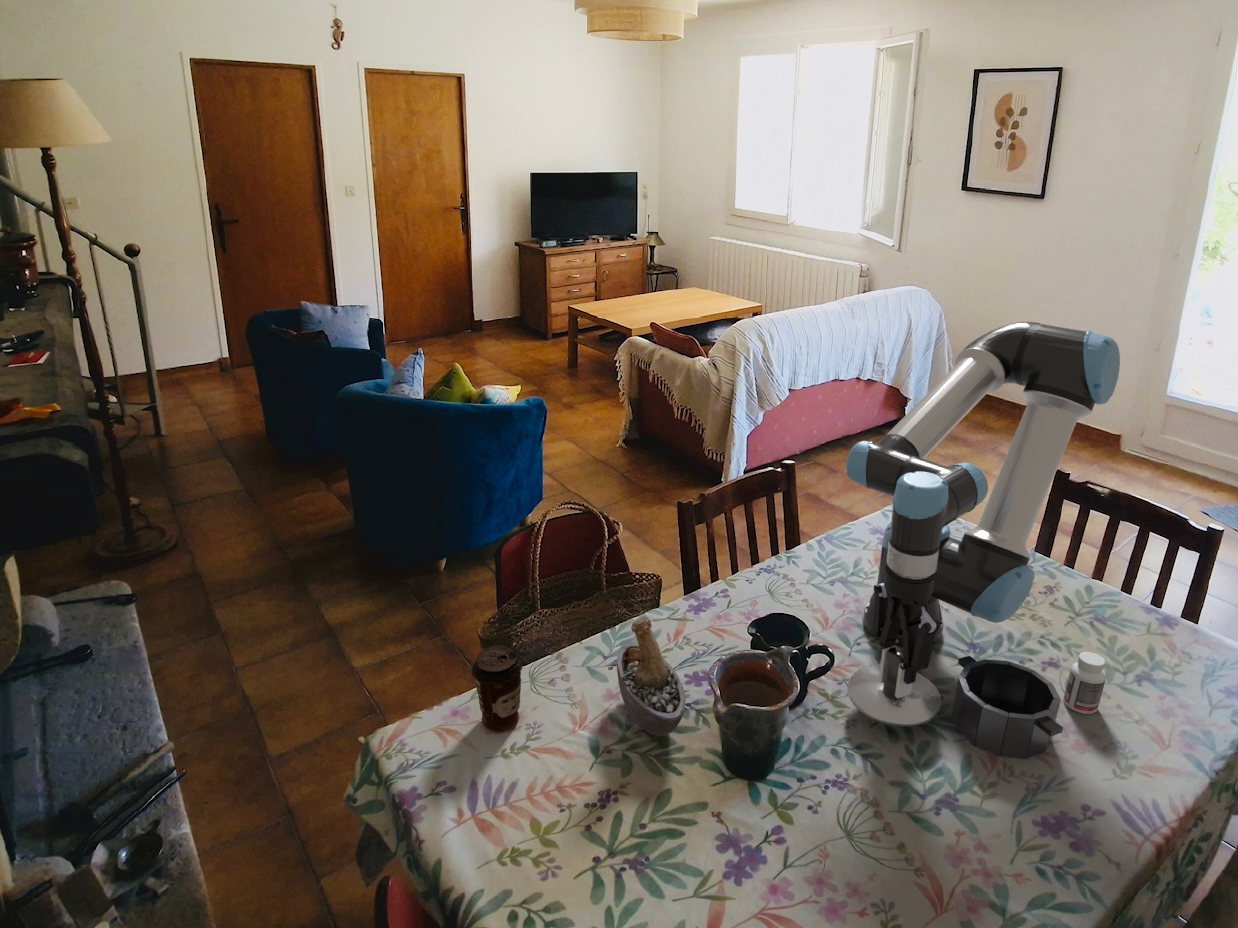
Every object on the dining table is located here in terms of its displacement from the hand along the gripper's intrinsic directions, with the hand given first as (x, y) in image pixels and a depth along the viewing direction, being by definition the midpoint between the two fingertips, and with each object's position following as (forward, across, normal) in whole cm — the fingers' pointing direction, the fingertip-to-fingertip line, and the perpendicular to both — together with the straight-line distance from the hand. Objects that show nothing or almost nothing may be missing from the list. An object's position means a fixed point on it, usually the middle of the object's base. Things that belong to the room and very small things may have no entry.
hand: (894, 686), depth 142 cm
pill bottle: (+7, +10, +32) cm, 35 cm away
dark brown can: (+5, -24, -62) cm, 67 cm away
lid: (+3, 0, 0) cm, 3 cm away
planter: (+5, -15, -39) cm, 42 cm away
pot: (+6, +9, +15) cm, 19 cm away
